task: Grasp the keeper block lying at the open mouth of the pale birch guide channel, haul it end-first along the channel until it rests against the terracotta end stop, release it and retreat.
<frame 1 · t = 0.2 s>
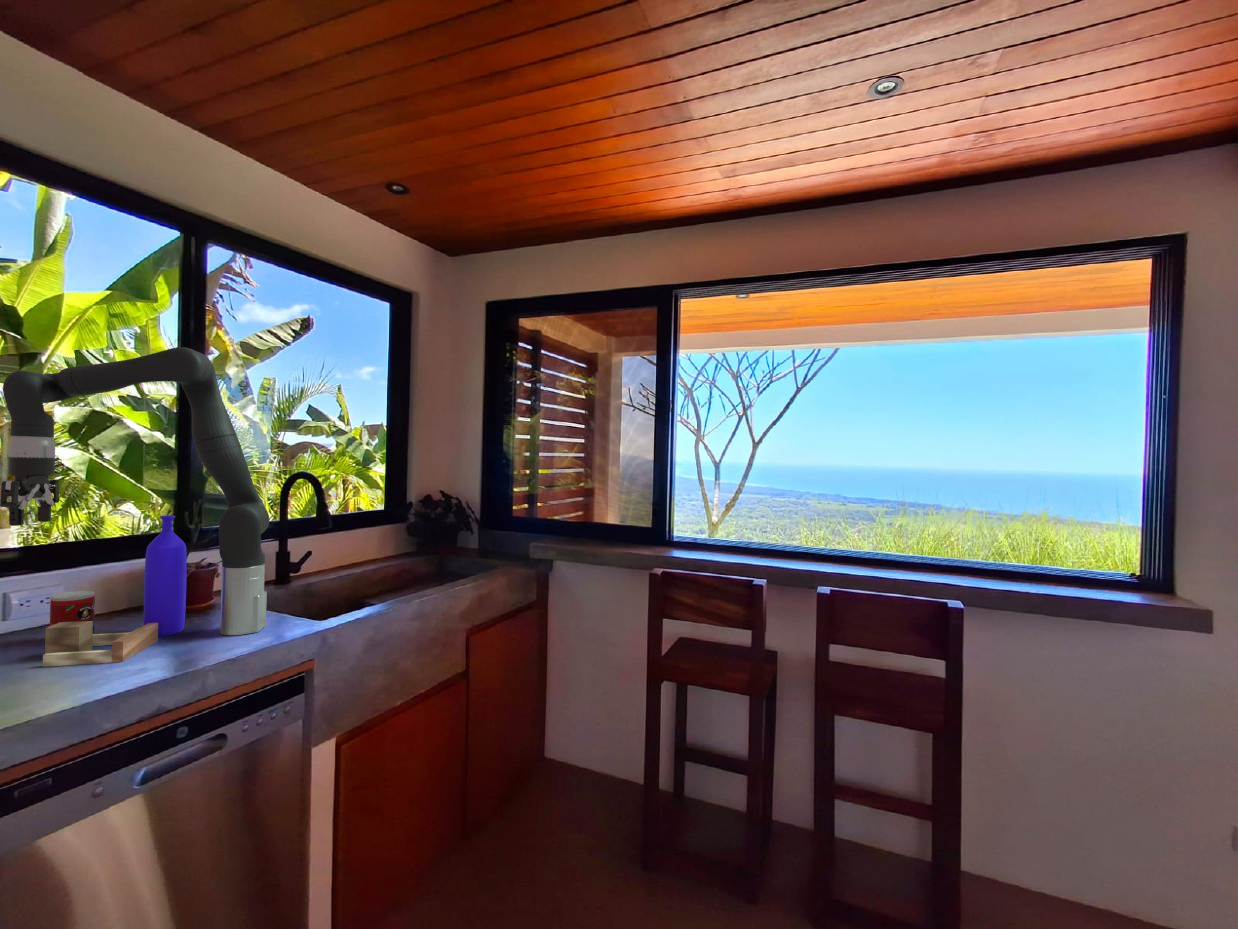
hand: (30, 523, 128), 28 cm above the counter, fingers open, 8 cm apart
guide channel: (104, 653, 123), on the counter
keeper block: (68, 655, 121), on the counter
canned food: (71, 640, 131), on the counter
bottle: (164, 633, 138), on the counter
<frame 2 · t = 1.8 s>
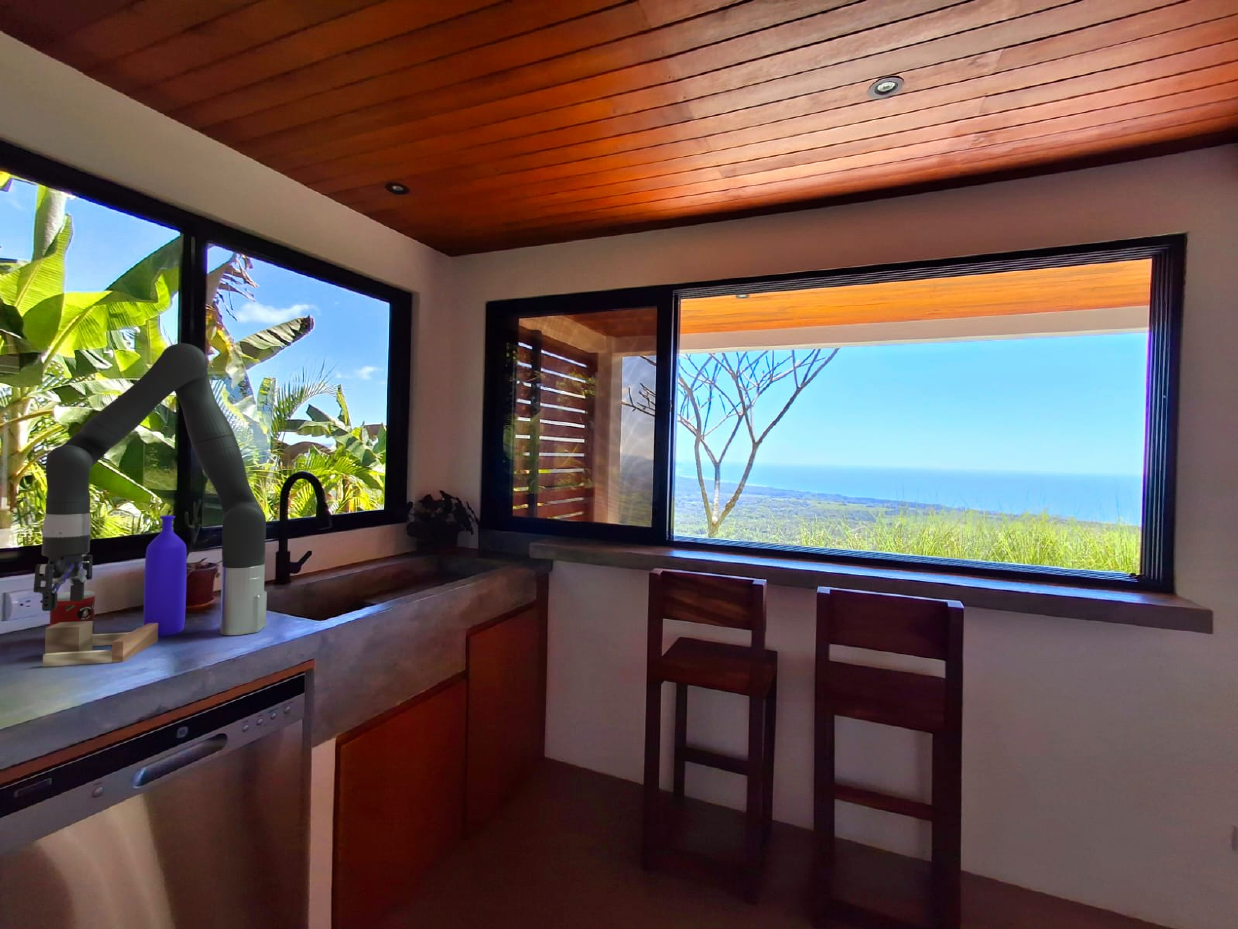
hand: (63, 605, 121), 11 cm above the counter, fingers open, 8 cm apart
nothing on the counter moved.
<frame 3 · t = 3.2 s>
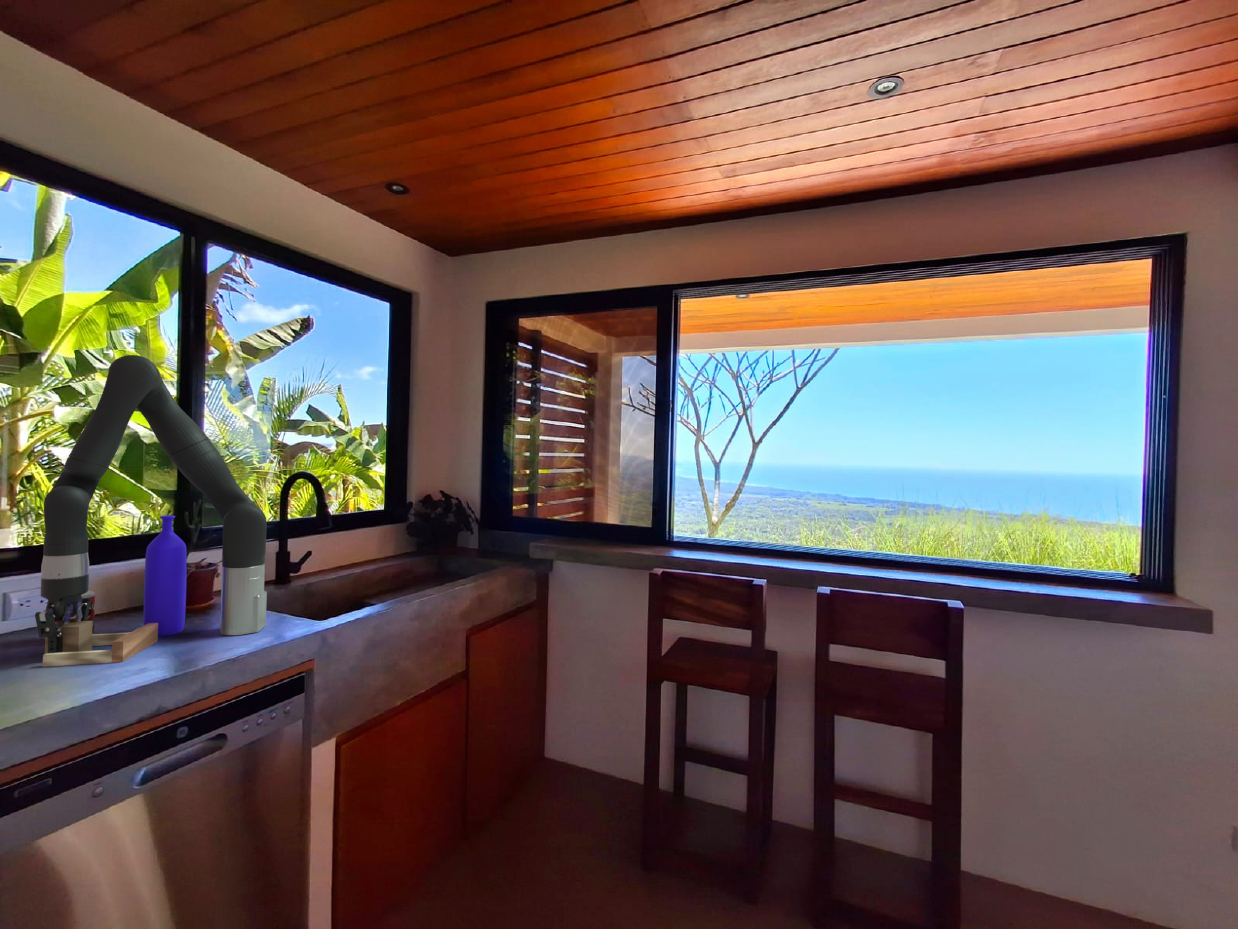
hand: (63, 649, 121), 1 cm above the counter, fingers closed on keeper block, 4 cm apart
keeper block: (68, 655, 121), on the counter, touching gripper
everything else where it was.
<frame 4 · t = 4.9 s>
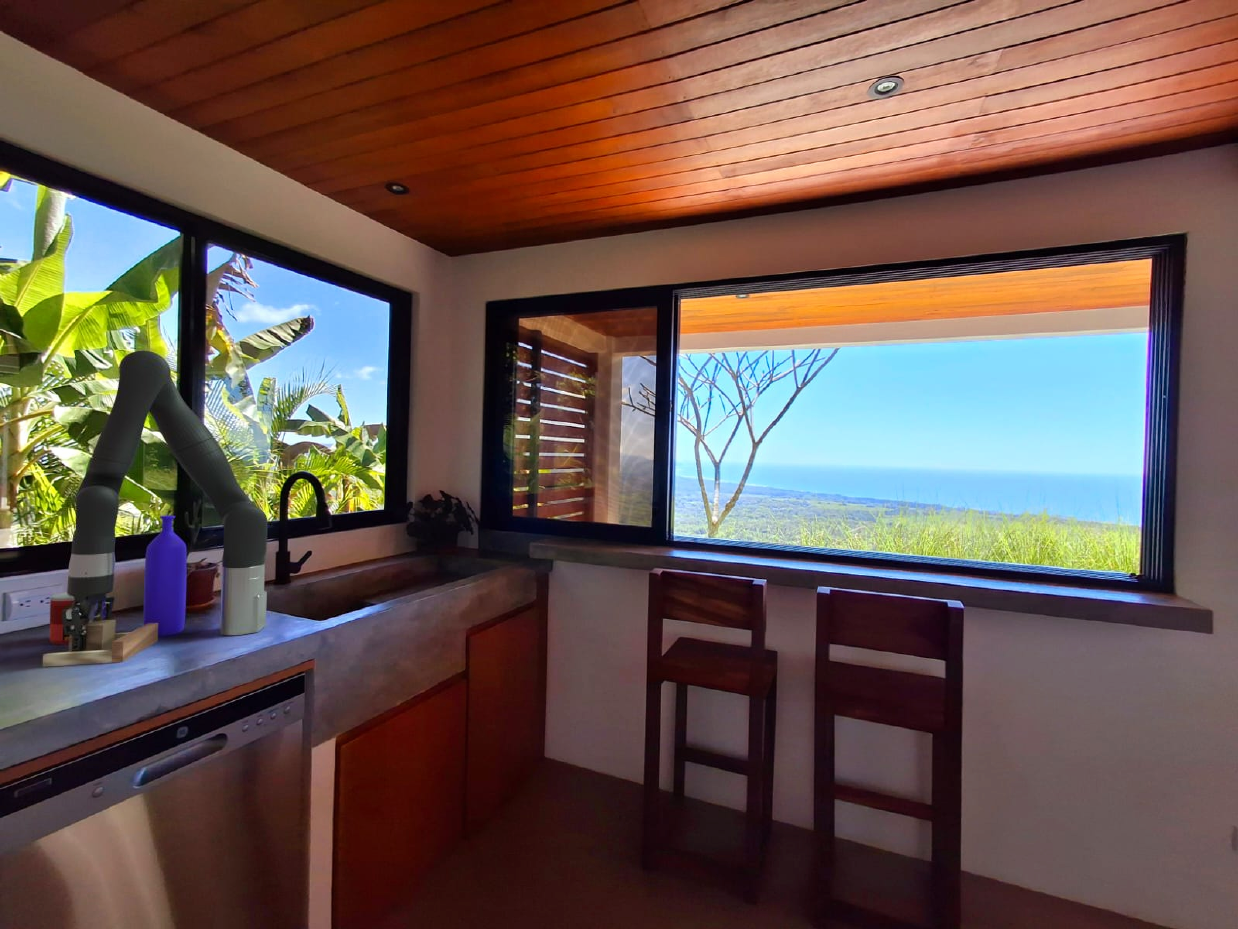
hand: (86, 647, 122), 2 cm above the counter, fingers closed on keeper block, 4 cm apart
keeper block: (91, 653, 122), on the counter, touching gripper
everything else where it was.
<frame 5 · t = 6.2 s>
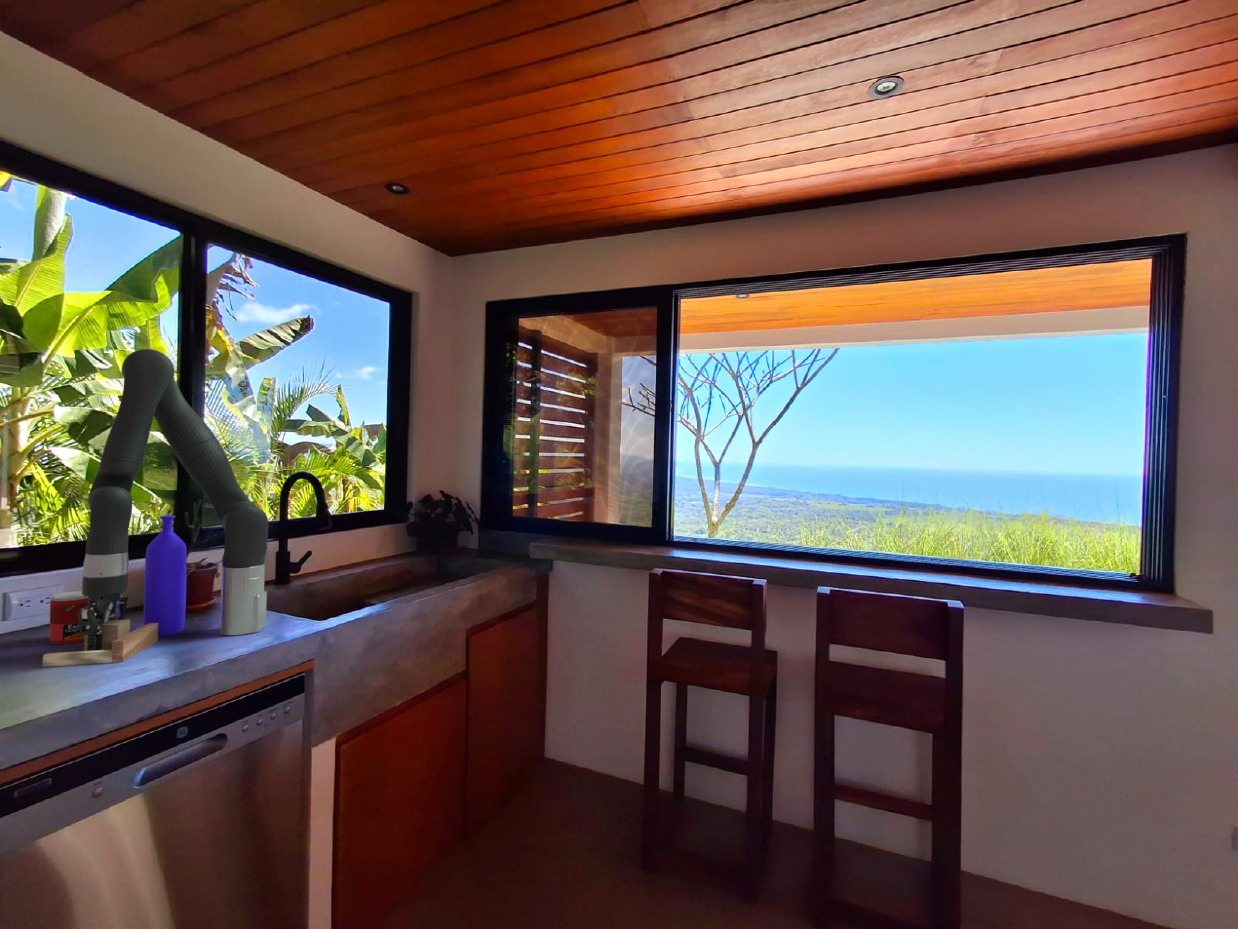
hand: (101, 647, 122), 1 cm above the counter, fingers closed on keeper block, 4 cm apart
keeper block: (106, 653, 123), on the counter, touching gripper
everything else where it was.
when the fingers open (1 cm above the counter, at t = 6.6 s): keeper block stays where it is, on the counter.
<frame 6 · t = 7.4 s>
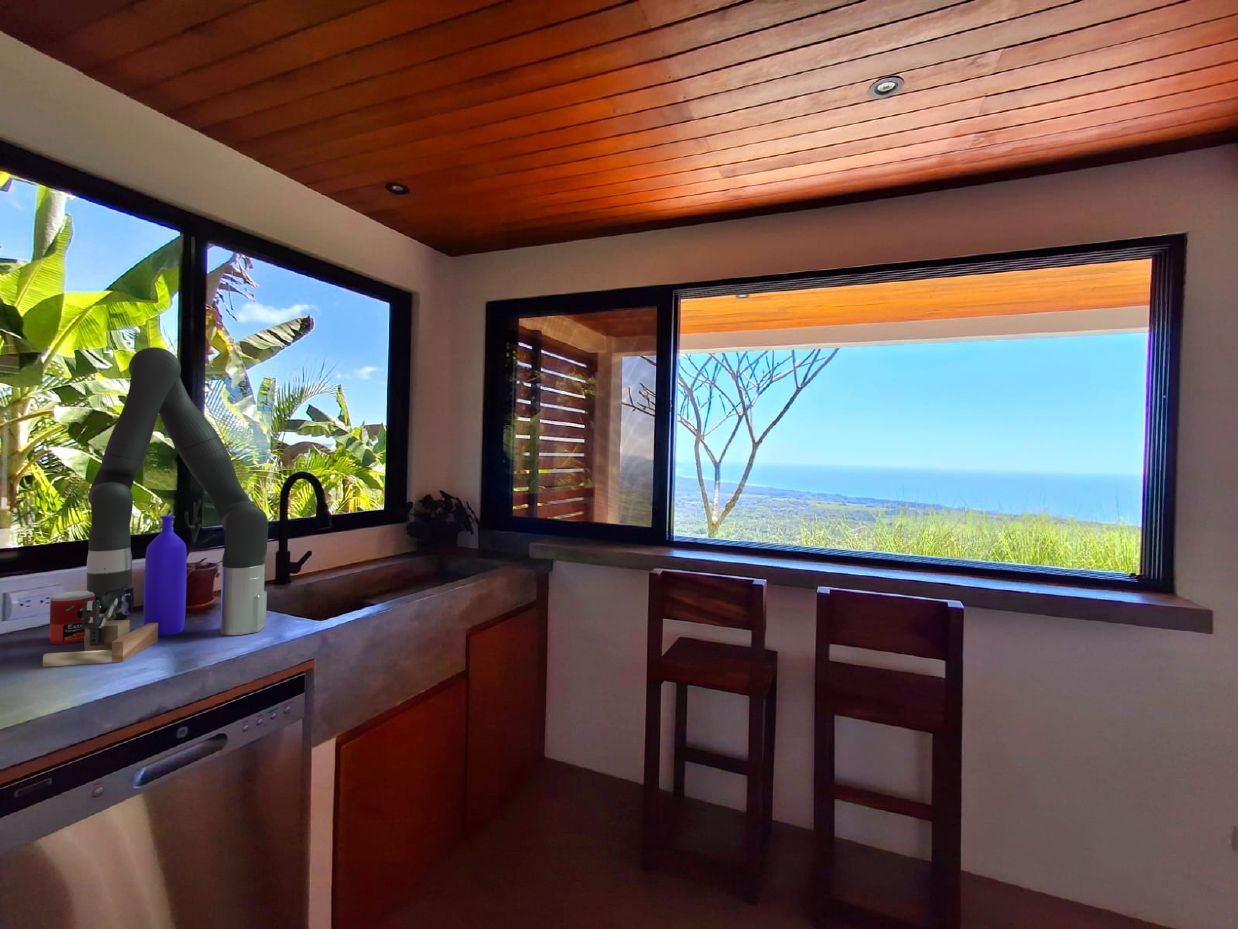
hand: (109, 639, 123), 3 cm above the counter, fingers open, 8 cm apart
keeper block: (107, 653, 123), on the counter
everything else where it was.
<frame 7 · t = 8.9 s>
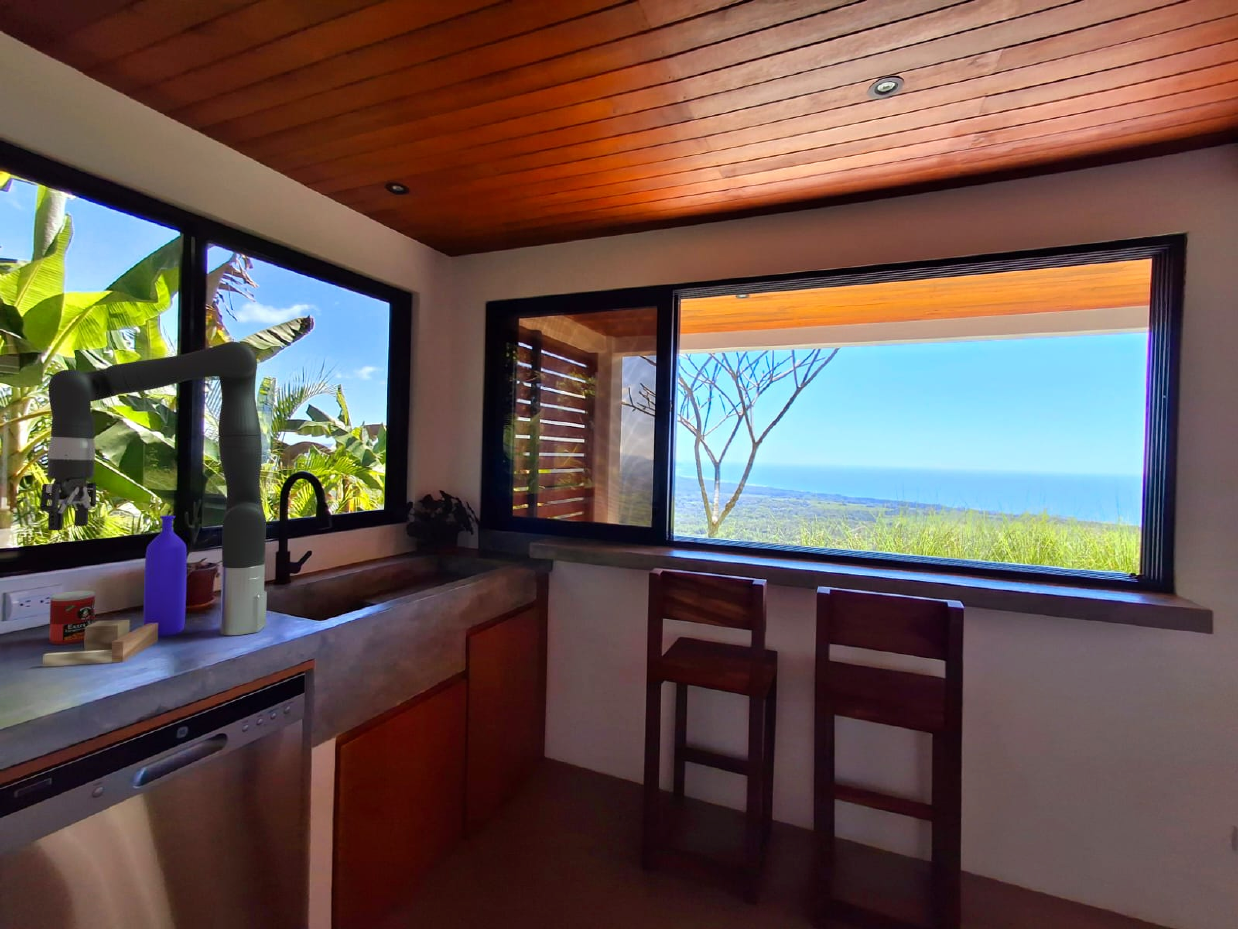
hand: (68, 528, 123), 28 cm above the counter, fingers open, 8 cm apart
nothing on the counter moved.
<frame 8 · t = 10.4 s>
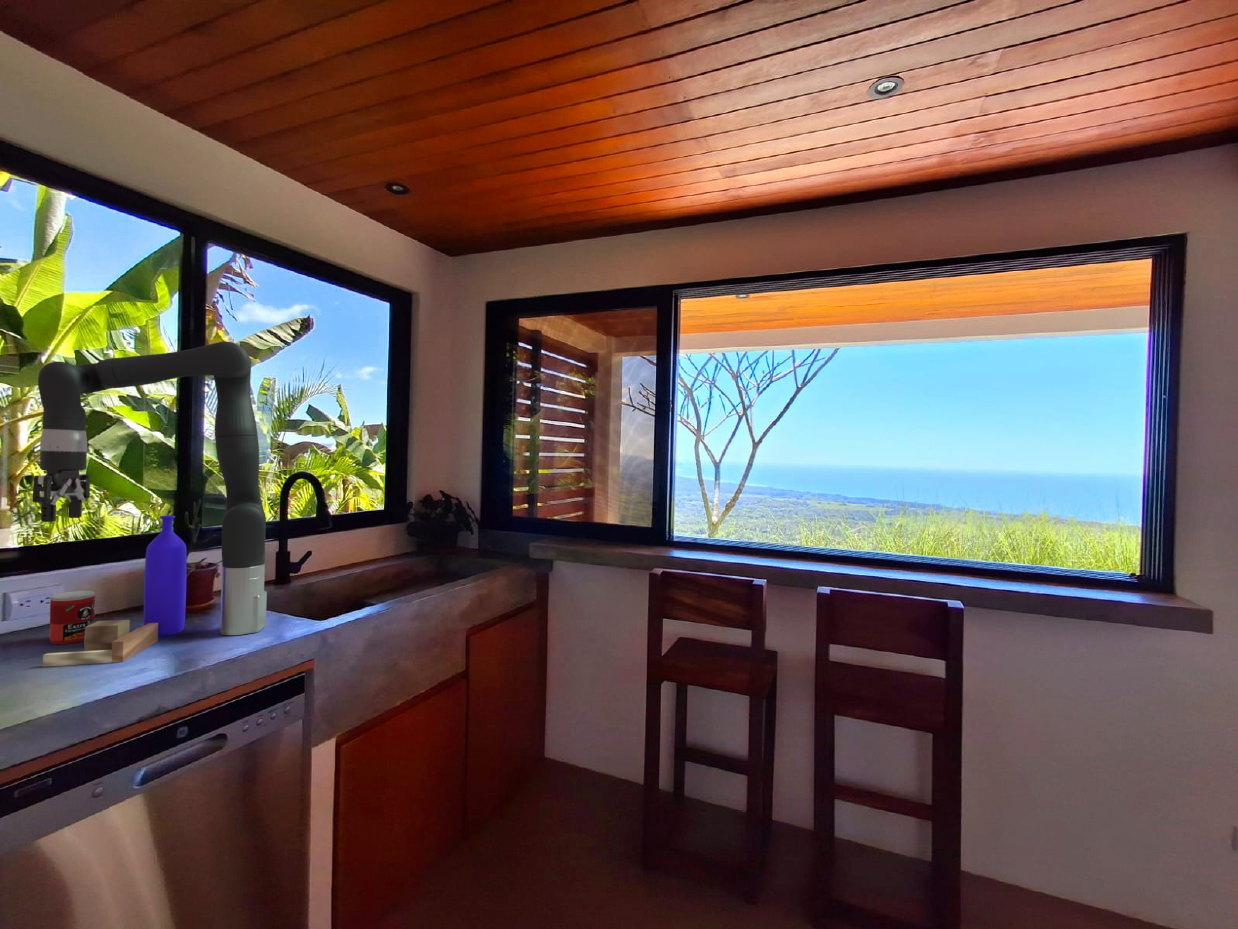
hand: (62, 519, 124), 30 cm above the counter, fingers open, 8 cm apart
nothing on the counter moved.
at the end: keeper block 1.1 cm from the target spot on the guide channel, point 0.0 cm above the guide channel's base; keeper block moved 7.3 cm from its start; keeper block tilted 0° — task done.
